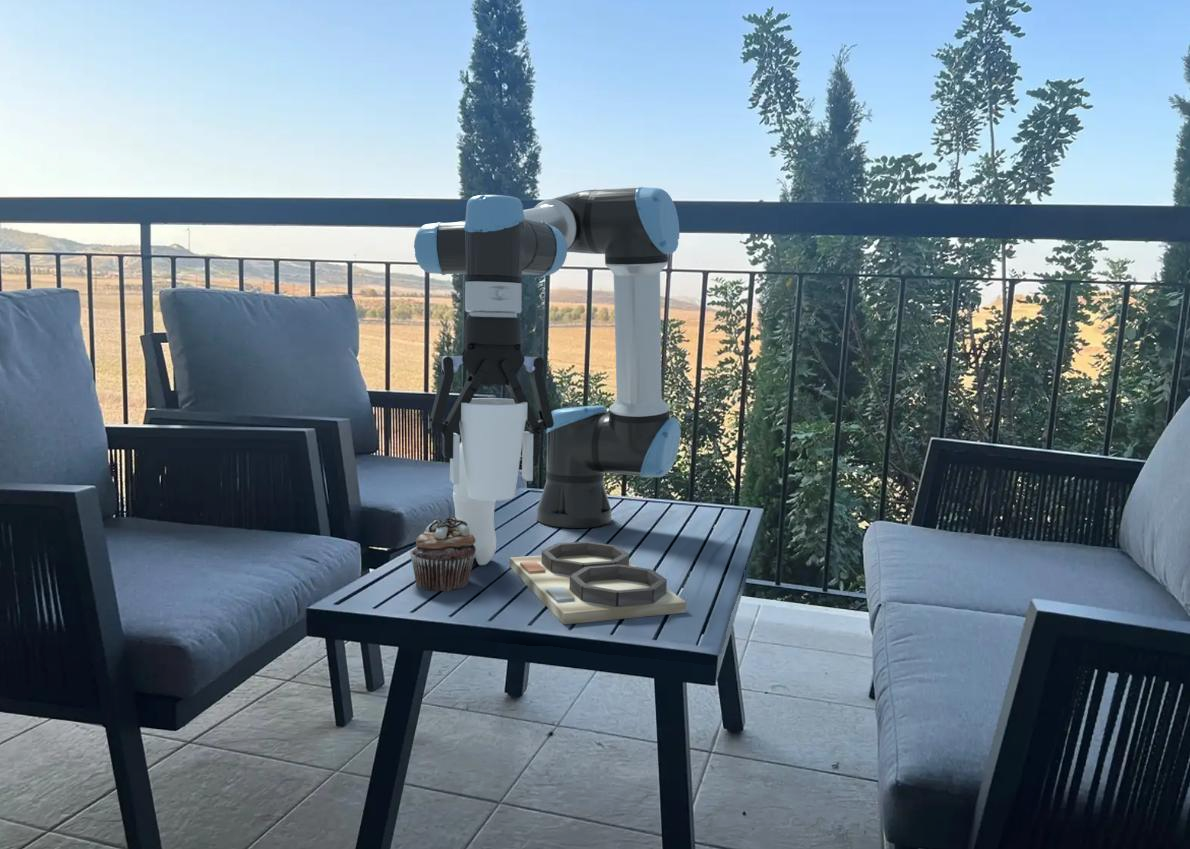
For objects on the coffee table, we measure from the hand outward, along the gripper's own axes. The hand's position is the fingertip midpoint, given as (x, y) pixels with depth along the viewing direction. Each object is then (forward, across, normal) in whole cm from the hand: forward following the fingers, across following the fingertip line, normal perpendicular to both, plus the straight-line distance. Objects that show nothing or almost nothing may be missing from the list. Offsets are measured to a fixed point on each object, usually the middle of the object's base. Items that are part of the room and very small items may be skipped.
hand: (491, 480), depth 116 cm
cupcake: (+18, -4, +13) cm, 23 cm away
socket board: (+18, +17, +5) cm, 25 cm away
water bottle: (+18, +3, +23) cm, 29 cm away
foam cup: (+2, 0, 0) cm, 2 cm away
